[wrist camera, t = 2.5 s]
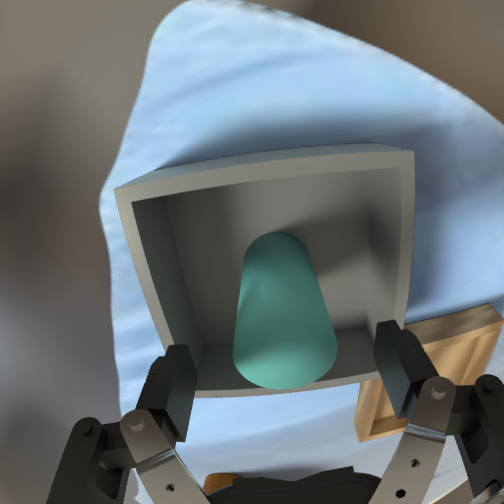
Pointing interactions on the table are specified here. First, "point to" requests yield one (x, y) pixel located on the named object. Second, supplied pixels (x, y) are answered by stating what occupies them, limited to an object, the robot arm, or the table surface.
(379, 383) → the tray
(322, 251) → the deep bin
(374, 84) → the table surface
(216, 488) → the disposable coffee cup
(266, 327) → the peg
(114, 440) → the robot arm
